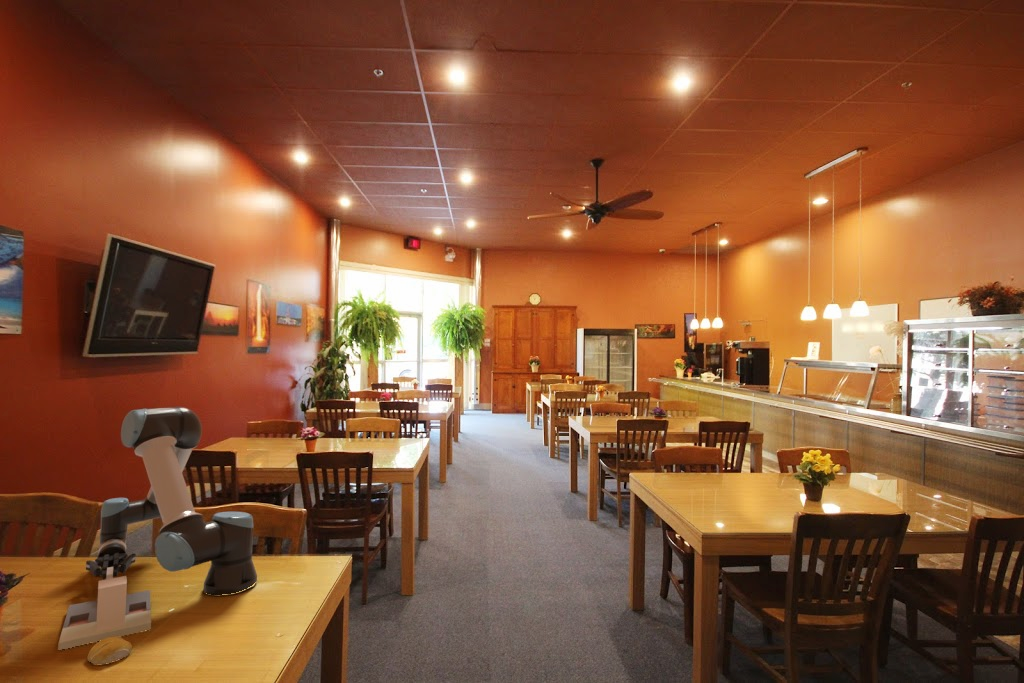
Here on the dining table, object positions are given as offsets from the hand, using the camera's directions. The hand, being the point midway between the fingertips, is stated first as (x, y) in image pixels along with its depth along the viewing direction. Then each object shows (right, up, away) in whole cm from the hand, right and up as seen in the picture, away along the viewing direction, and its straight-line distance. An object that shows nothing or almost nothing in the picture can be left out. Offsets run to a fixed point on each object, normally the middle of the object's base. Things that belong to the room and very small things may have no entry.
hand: (109, 579), depth 156 cm
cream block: (+12, -5, -15) cm, 20 cm away
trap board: (+4, -7, -6) cm, 10 cm away
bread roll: (+20, -8, -26) cm, 34 cm away
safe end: (+11, -7, -16) cm, 21 cm away
